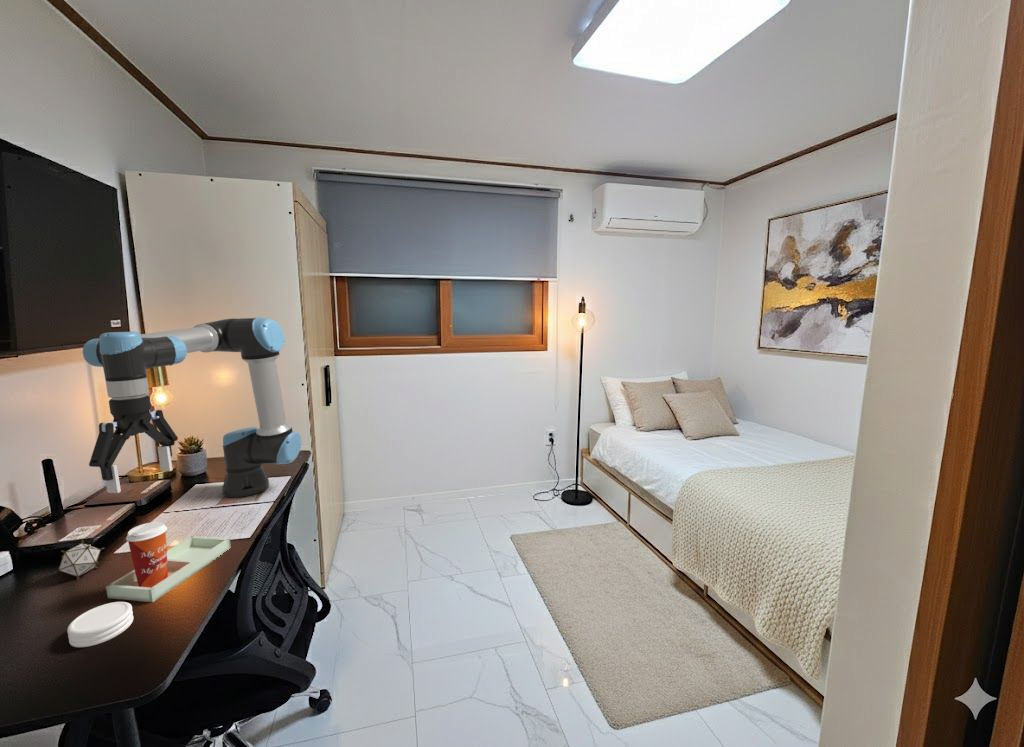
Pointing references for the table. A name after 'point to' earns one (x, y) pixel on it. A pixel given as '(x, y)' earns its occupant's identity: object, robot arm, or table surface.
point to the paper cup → (149, 553)
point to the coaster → (100, 624)
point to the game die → (79, 560)
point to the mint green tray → (172, 569)
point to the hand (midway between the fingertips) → (142, 480)
